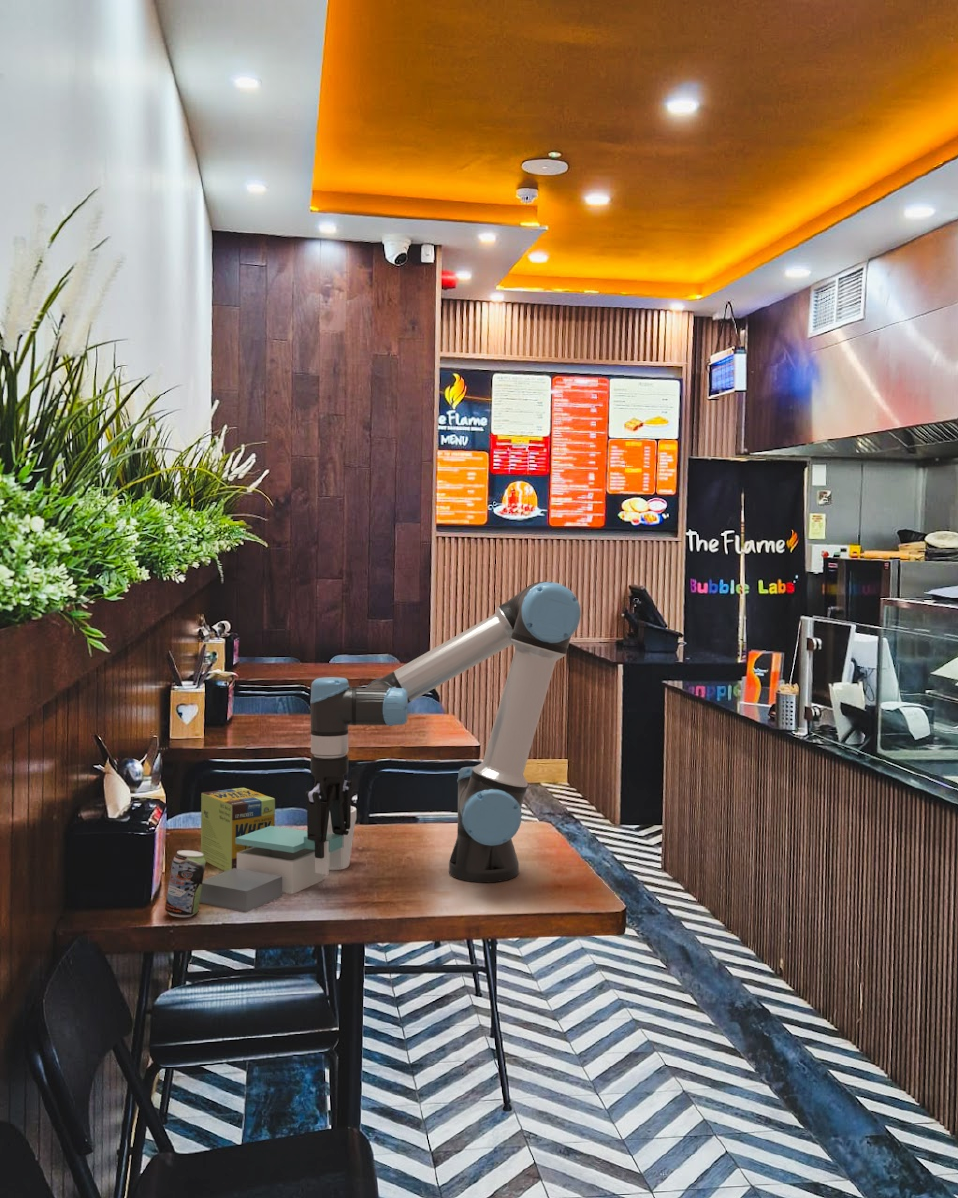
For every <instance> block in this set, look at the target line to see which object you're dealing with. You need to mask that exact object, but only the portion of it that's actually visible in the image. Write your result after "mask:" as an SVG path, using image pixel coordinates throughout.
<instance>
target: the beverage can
mask: <svg viewBox="0 0 958 1198" xmlns="http://www.w3.org/2000/svg"><path fill="white" fill-rule="evenodd" d="M203 855H204V854H203V853H201V851H197V850H191V849H184V850H183V849H181V850H177V851H176V854H175V855H174V857H173V858H172V861H171V868H170V874H169V875H170V876H169V881H168V888H167V895H166V899H165V907H164V910H165V911H166V912H167V913H168V915H170V916H172V917H176V918H191V917H193V916H194V915H196V914H197V913H198V912H199V907H200V903H199V901H200V895H201V889H202V882H203V880H204V876H205V868H206V863H207V862H206V861H205V859H204V857H203Z"/></svg>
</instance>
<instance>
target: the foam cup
mask: <svg viewBox="0 0 958 1198" xmlns="http://www.w3.org/2000/svg"><path fill="white" fill-rule="evenodd" d="M356 821H357V808H356V806H352V805H351V821H350V829H347V831H349V833H348V835H344V847H343V868H336V867H330V852H329V871H338V870H339V871H340V870H344V869H347V868H348V867H349V866H350V862H351V856H352V849H353V848H352V846H353V839H354V833H355V826H356ZM327 833H329V834H334V833H333V831H332V824H331V816H330V812H329V820H328V828H327Z"/></svg>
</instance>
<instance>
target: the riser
mask: <svg viewBox="0 0 958 1198" xmlns="http://www.w3.org/2000/svg"><path fill="white" fill-rule="evenodd" d="M281 897H283V892H282V876H277V875H272V874H266V873H260V872H254V871H249V870H243V869H237V868H233V869H230V870H228V871H222V872H220V873H217V874H215V875H213V876H209V877H206V878H203V882H202V889H201V895H200V901H199V904H204V905H208V906H213V907H217V908H223V909H229V910H235V911H239V912H244V913H248V912H251V911H252V910H254V909H256V908H259V907H261V906H264V905H266V904H268V903H271V902H273V901H274V900H275V901H276V900H277V899H279V898H281Z"/></svg>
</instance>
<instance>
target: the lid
mask: <svg viewBox="0 0 958 1198" xmlns="http://www.w3.org/2000/svg"><path fill="white" fill-rule="evenodd" d="M326 841H329V852H332V851H334V850H337V849H339V848H342V847H343V835H336V834H329V833H327V836H326ZM235 844H240V845H246V846H251V847H257V848H264V849H270V850H277V851H283V852H290V853H294V852H297V851H299V850H302V849H304V848H305V849H311V850H315V842H314V841H311V840H308V839H307V830H302V829H299V828H297V829H295V828H291V827H281V826H268V827H266V828H263V829H260V830H257V831H254V832H251V833H248V834H245V835H243V836H240V837H237V838H235Z"/></svg>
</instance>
